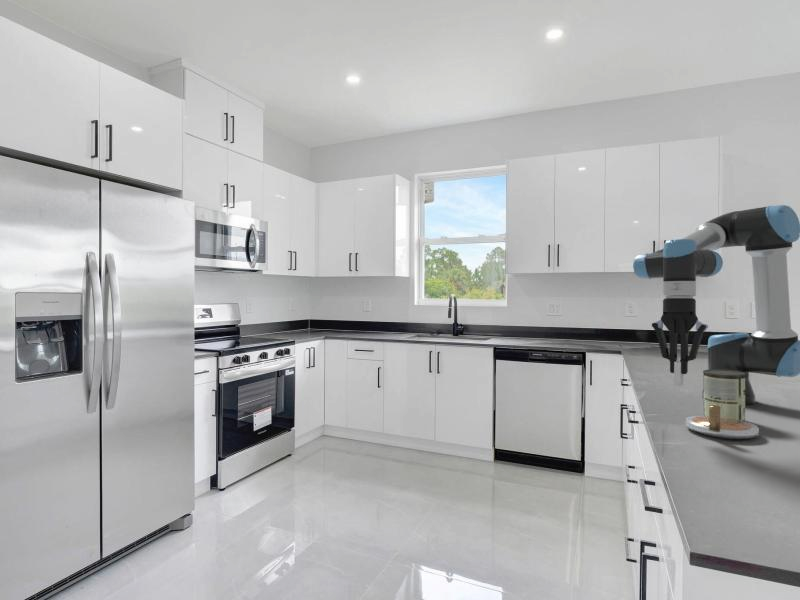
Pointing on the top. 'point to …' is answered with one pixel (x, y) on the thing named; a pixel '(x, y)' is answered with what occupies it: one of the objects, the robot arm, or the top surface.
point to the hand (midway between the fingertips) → (678, 385)
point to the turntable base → (724, 437)
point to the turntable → (721, 425)
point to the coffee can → (725, 392)
